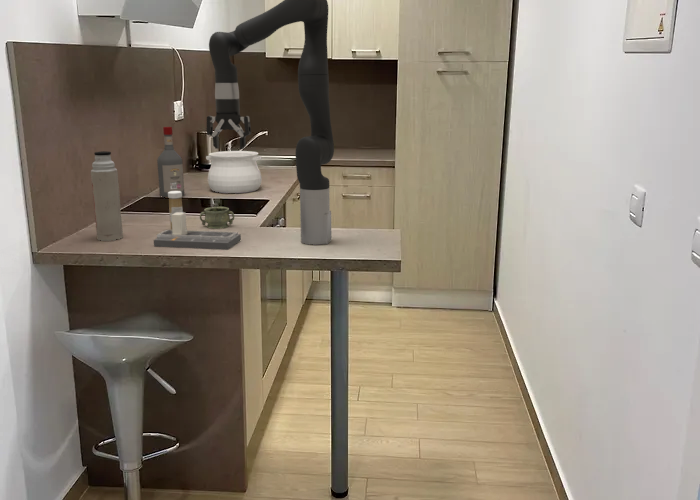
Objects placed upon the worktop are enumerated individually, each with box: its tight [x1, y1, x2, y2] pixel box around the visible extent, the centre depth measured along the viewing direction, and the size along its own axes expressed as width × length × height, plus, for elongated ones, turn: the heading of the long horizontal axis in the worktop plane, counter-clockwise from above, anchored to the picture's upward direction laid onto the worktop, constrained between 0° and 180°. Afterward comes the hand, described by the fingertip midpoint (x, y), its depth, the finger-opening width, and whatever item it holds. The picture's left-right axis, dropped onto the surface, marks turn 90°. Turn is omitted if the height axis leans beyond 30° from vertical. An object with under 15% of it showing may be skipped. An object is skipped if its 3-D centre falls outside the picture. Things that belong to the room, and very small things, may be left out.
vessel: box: [199, 206, 235, 230], centre depth 239 cm, size 12×9×6 cm
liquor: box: [156, 126, 185, 198], centre depth 295 cm, size 9×9×30 cm
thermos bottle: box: [90, 151, 124, 242], centre depth 219 cm, size 8×8×28 cm
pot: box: [205, 150, 263, 194], centre depth 314 cm, size 26×24×17 cm
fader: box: [171, 212, 188, 235], centre depth 215 cm, size 3×5×7 cm, turn 170°
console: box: [153, 229, 242, 250], centre depth 215 cm, size 24×12×3 cm, turn 80°
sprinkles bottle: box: [168, 191, 184, 230], centre depth 232 cm, size 5×5×13 cm
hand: (229, 148), depth 223 cm, fingers open, 8 cm apart
